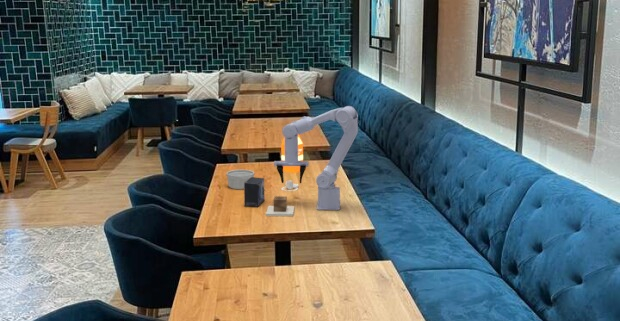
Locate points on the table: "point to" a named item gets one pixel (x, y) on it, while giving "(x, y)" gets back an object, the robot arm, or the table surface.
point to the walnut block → (280, 204)
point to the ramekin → (238, 178)
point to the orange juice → (300, 156)
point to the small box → (254, 192)
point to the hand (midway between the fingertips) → (291, 182)
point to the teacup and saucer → (290, 186)
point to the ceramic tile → (288, 212)
